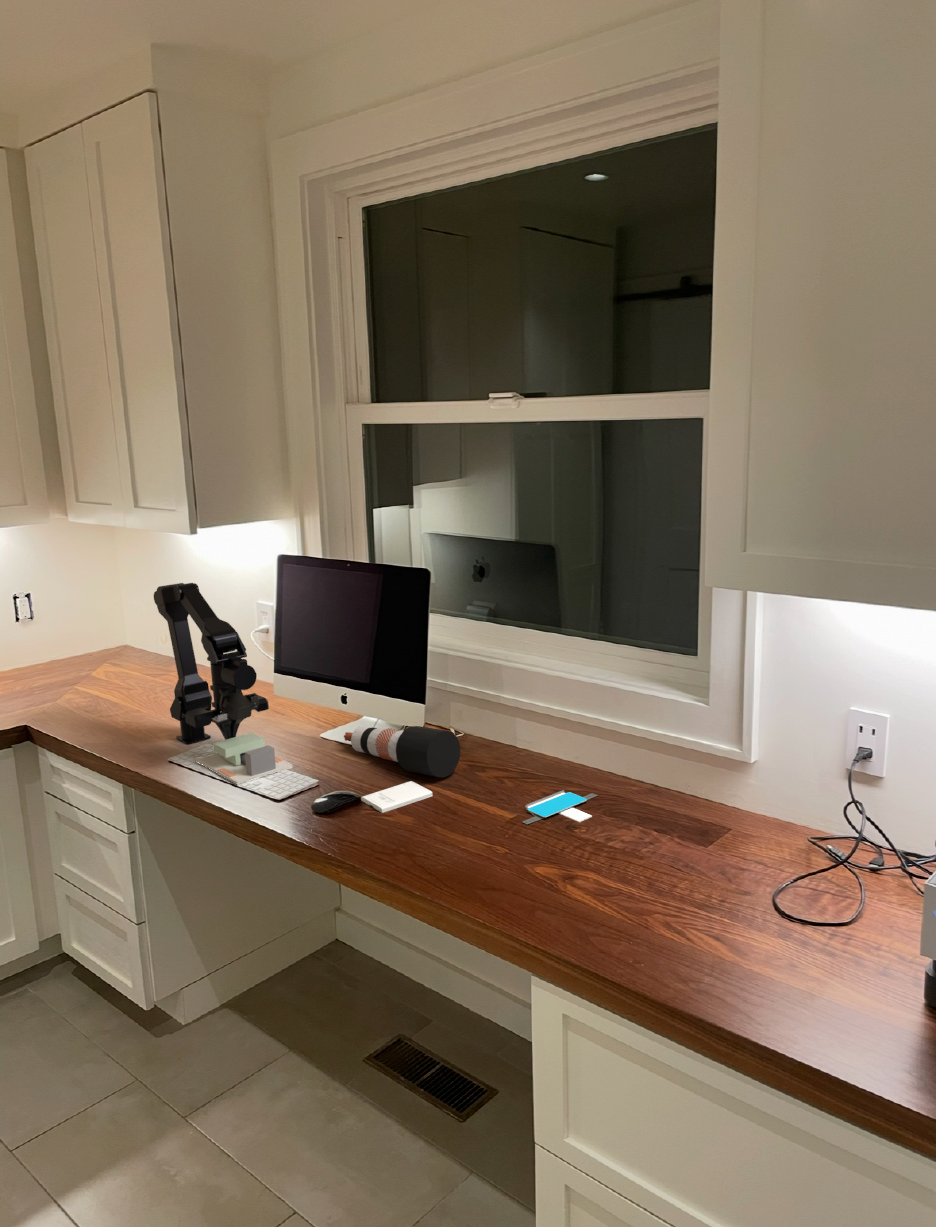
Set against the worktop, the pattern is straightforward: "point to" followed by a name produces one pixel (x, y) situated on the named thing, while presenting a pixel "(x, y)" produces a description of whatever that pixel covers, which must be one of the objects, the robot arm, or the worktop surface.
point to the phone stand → (558, 806)
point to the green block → (238, 746)
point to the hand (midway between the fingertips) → (230, 745)
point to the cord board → (236, 769)
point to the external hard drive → (396, 796)
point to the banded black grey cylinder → (410, 748)
